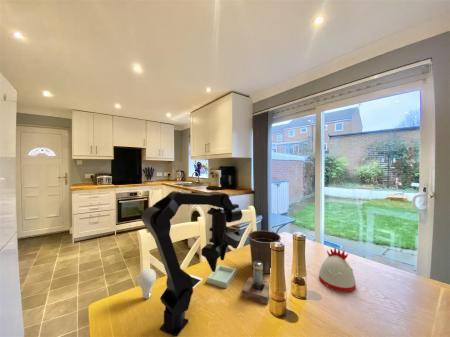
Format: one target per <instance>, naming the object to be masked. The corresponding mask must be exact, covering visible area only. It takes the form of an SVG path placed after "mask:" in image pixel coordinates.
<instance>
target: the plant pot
mask: <svg viewBox="0 0 450 337" xmlns="http://www.w3.org/2000/svg"><path fill="white" fill-rule="evenodd" d="M247 238H248V241H249V247H250V258H251V259H250V260H251V267H252V268H253V262H254V261H261V262H262V264H263V269H262V275H263V274H264V275H266V274H271V273H270V268H271V248H270V243H271V242H281V240H282V237H281V235H280V234H278V233H277V232H274V231H269V230H254V231H251V232H249V233H247Z"/></svg>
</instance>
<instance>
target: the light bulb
mask: <svg viewBox="0 0 450 337" xmlns="http://www.w3.org/2000/svg"><path fill="white" fill-rule="evenodd" d="M156 273H157V272H155V270H153V269H152V268H145V269H143V270H141V271H140V272H139V274H138V276H137V284H138V286H139V287H140V288H141V293H142V298H143V299H149V298H151V296H152V290H153V289H152V288H153V286H154V284H155V282H156V280H157V274H156Z"/></svg>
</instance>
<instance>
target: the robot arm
mask: <svg viewBox="0 0 450 337" xmlns="http://www.w3.org/2000/svg"><path fill="white" fill-rule="evenodd" d="M182 205H192V206H193V205H196V206H198V205H202V206H203V205H204V206H205V205H207V206H211V207H210V209H208V210H207V212H206V213H207V214H208V215H210V216H211V227H210V228H209V232H211V237H210V238H209V239H208V240H209V243H207V244H206V245H204V246H203V248H201V252H200V253H201V254H200V255H201V256H202V257H204V258H205V259H206V261H207V264H208V266H209V267H210V270H211V271H212V272H215V270H216V268H217V264H218V263H217V262H218V259H219V258H220V261H224V260H225V257H226V253H227V248H228V246H230V247H231V248H232V249H237V248H238V247H239V245H240V243H241V240H242V236H241V231H240V230H238V229H235V231H230V229H229V226H227V223H228V224H229V223H234V222H238V221H241V220H242V218H243V212H242V209H241V208H240V204H238V203H237V204H236V203H233V202H232V200H231V199H230V196H229V194H228V193H227V192H223V191H211V192H210V191H209V192H207V193H205V192H204V193H201V192H199V193H197V192H183V191H181V192H180V191H176V190H173V191H170V192H169V193H168V194H167V195H165V196H164V197H163V198H161V199H159V200H158V201H156V202H155V203H154V204H153V205H151V206H149V207H147V208H145V210H144V211H142V214H141V222H142V223H143V225H144V226H145V227H146V229H147V231H148V232H149V234H150V235H151V236H152V237H153V239H154V242H155V245H156V248H157V251H158V253H159V256H160V258H161V261H162V264H163V267H164V270H165V273H166V276H167V277H166V288H165V289H164V291H163V293H162V294H161V295H160V297H159V299H160V302H161V303H162V304H163V305H164V306H165V307H164V310H163V324H162V325H160V326H159V330H160V331H162V332H164V333H167V334H168V335H171V336H173V337H178V335H179V334H180V333H181V332H182V330H183V329H184V328H185V327H186V325H188V324H189V319H187V318H186V311H188V309H189V306H190V304H191V303H190V302H191V299H192V296H193V294H194V288H195V287H194V285H193V284H192V281H191V276H190V275H191V274H188V273H187V272H186V271H184V270H183V269H182V268H181V266H180V261H179V259H178V256H177V252H176V250H175V246H174V244H173V241H172V238H171V234H170V233H171V229H172V228H171V227H172V225H171V220H172V219H173V218H174V216H176V214H177V213H178V210H179V208H180V207H181V206H182ZM215 207H216V208H215ZM212 272H211V273H212ZM192 287H194V288H192Z"/></svg>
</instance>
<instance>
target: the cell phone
mask: <svg viewBox="0 0 450 337" xmlns="http://www.w3.org/2000/svg"><path fill="white" fill-rule="evenodd" d="M189 275H190V276H191V281H192V284H193V285H194V287H192V288H193V289H195V288H196V286H198V285H199V284H200V283H201V282H202V281H204V278H202V277H199V276H195V275H192V274H189Z"/></svg>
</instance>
